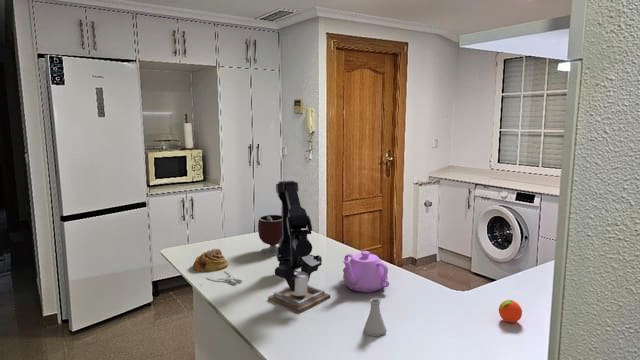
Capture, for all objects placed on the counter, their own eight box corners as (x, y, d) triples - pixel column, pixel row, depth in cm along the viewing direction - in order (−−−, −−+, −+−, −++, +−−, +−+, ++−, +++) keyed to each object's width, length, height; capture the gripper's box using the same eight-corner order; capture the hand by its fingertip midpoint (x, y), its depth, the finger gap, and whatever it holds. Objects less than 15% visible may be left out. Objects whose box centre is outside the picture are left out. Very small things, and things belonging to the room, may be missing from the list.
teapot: (321, 288, 166) (321, 254, 164) (356, 273, 182) (356, 241, 180) (367, 305, 152) (367, 267, 149) (401, 286, 167) (402, 252, 165)
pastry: (228, 270, 187) (227, 252, 186) (192, 274, 183) (191, 255, 182) (226, 260, 200) (226, 243, 199) (193, 263, 196) (192, 246, 195)
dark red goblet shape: (263, 247, 218) (261, 208, 215) (290, 247, 216) (289, 209, 213) (254, 257, 203) (252, 215, 200) (283, 258, 201) (282, 216, 198)
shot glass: (311, 290, 159) (311, 272, 158) (304, 297, 153) (304, 279, 152) (294, 287, 161) (293, 270, 160) (286, 295, 155) (286, 276, 154)
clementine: (507, 329, 134) (509, 307, 133) (490, 319, 141) (491, 298, 139) (526, 324, 137) (527, 302, 136) (509, 314, 144) (510, 294, 143)
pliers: (225, 268, 185) (248, 277, 175) (225, 272, 185) (248, 281, 175) (205, 275, 177) (228, 284, 168) (206, 279, 178) (228, 288, 168)
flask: (361, 325, 137) (361, 296, 136) (383, 324, 138) (384, 295, 136) (365, 337, 130) (365, 306, 129) (389, 336, 131) (389, 305, 129)
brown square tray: (299, 286, 168) (299, 279, 168) (330, 297, 158) (330, 291, 157) (268, 299, 157) (268, 292, 156) (299, 313, 146) (299, 305, 146)
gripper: (295, 259, 142) (296, 303, 145) (332, 245, 156) (332, 286, 158) (273, 252, 149) (274, 294, 152) (310, 239, 163) (310, 279, 166)
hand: (299, 288), depth 157 cm, fingers closed on shot glass, 6 cm apart
